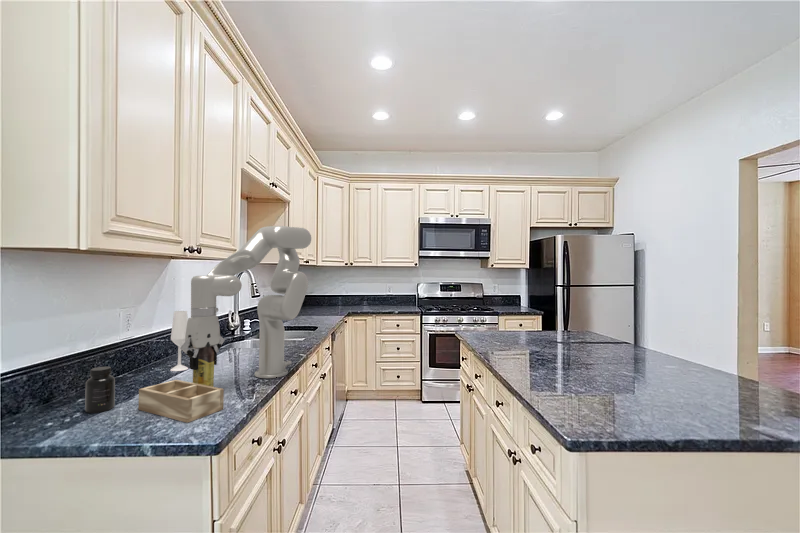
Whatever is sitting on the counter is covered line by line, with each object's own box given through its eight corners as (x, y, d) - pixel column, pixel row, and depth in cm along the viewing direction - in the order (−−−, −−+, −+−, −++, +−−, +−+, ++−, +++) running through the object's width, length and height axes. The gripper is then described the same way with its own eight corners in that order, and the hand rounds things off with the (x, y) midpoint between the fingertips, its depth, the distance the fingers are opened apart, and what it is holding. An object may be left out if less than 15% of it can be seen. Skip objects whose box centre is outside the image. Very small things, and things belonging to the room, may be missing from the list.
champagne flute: (173, 367, 161) (174, 310, 162) (190, 366, 163) (192, 310, 163) (167, 371, 155) (168, 312, 155) (185, 370, 156) (186, 312, 157)
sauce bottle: (188, 393, 125) (188, 333, 125) (205, 388, 131) (205, 330, 131) (201, 396, 122) (201, 334, 122) (218, 391, 128) (218, 331, 128)
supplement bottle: (83, 409, 112) (84, 368, 112) (112, 403, 116) (113, 364, 117) (86, 415, 107) (87, 372, 107) (116, 409, 111) (117, 368, 112)
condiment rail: (175, 398, 122) (176, 379, 122) (223, 409, 113) (223, 388, 113) (138, 409, 111) (138, 389, 112) (187, 422, 102) (187, 400, 102)
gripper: (218, 309, 136) (218, 360, 136) (171, 315, 120) (171, 371, 120) (233, 310, 133) (233, 362, 133) (187, 316, 117) (186, 374, 117)
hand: (203, 366), depth 126 cm, fingers closed on sauce bottle, 6 cm apart
